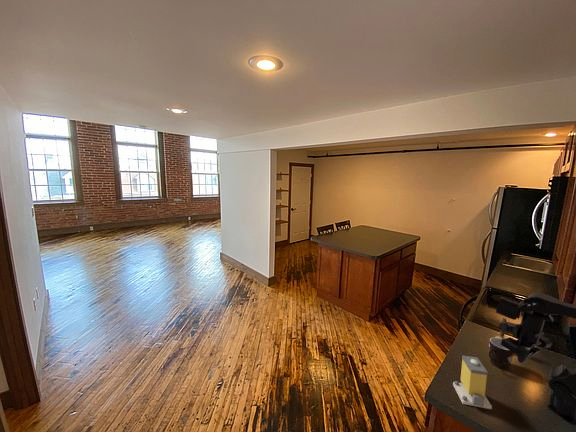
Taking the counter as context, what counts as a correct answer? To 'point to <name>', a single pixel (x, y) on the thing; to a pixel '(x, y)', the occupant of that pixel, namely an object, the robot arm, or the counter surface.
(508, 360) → the coffee mug
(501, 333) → the hand bell
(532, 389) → the counter surface
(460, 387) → the base
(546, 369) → the counter surface
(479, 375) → the yellow block on base
